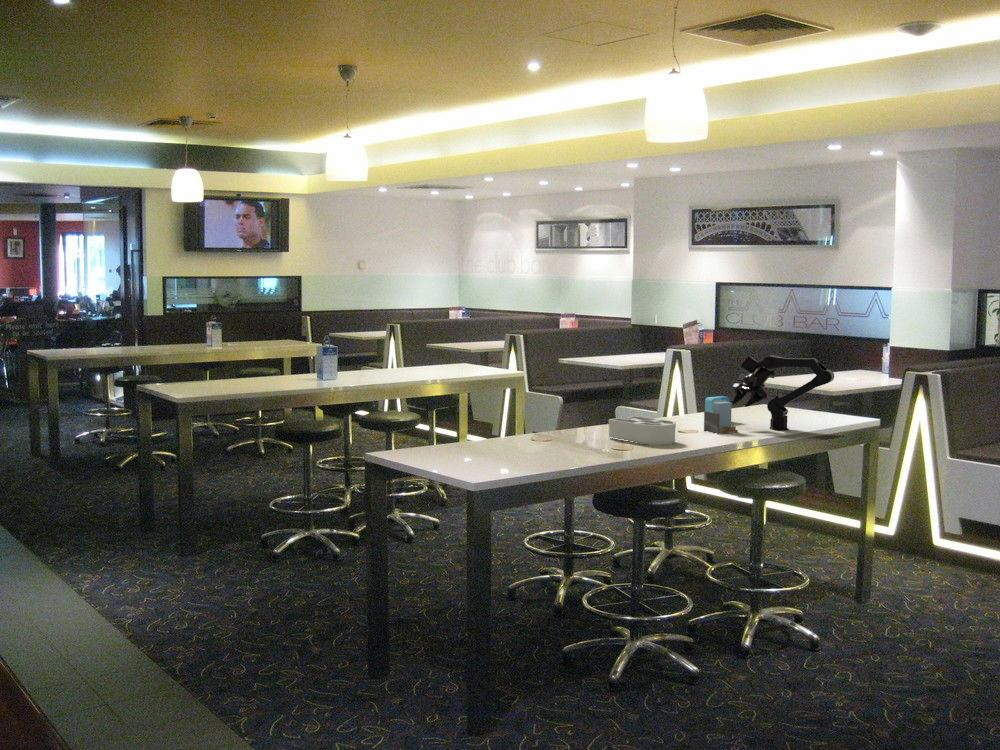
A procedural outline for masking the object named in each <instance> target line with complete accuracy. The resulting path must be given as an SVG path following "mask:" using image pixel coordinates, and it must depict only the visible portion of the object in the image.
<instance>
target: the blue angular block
mask: <svg viewBox="0 0 1000 750" xmlns="http://www.w3.org/2000/svg"><path fill="white" fill-rule="evenodd" d="M732 405H733V404H732V402H730V401H729V402H715V403H713V412H714V413H719V428H720V427H732Z"/></svg>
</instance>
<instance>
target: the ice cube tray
mask: <svg viewBox="0 0 1000 750" xmlns="http://www.w3.org/2000/svg"><path fill="white" fill-rule="evenodd" d="M609 437H613V438H618V439H624V440H628V441H633V442H637V443H640V444H639V445H643V444H649V445H648V446H663V445H662V444H670V445H673V444H672V443H674V444H675V442H676V421H673V420H665V419H661V418H660V419H659V418H653V417H652V418H651V417H646V416H645V417H644V416H638V415H633V416H632V415H631V416H626V417H625V418H620V417H619V418H618V417H617V418H616V417H615V418H610V419H608V438H609ZM637 443H636V444H637Z"/></svg>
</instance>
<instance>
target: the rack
mask: <svg viewBox="0 0 1000 750" xmlns="http://www.w3.org/2000/svg"><path fill="white" fill-rule="evenodd" d="M703 413H704V414H703V432H706V431H708V432H707V433H711V432H713V433H712V434H715V433H717V434H716V435H719V434H718V433H724V434H730V433H729V432H735V433H739V430H738V429H736V426H735V425H734V426H732V425H731V427H720V428H719V413H714V412H709V411H705V410H704V411H703Z"/></svg>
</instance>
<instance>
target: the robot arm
mask: <svg viewBox="0 0 1000 750" xmlns="http://www.w3.org/2000/svg"><path fill="white" fill-rule="evenodd" d="M782 367H786V368H787V367H788V368H789V367H790V368H791V367H793V368H797V367H798V368H799V367H800V368H810V369H811V371H812V372H813V374H815V376H814V377H813V378H812V379H811V380H809V381H808V382H806V383H805V384H803V385H801V386H800V387H798V388H795V389H794V390H792V391H791V392H789V393H787V394H785V395H782V394H781V393H779V394H777V395H776V396H775V397H772V398H771V399H769V401H768V402H767V405H766V406H767V410H768V412H770V415H771V417H770V419H769V420H770V421H769V422H770V423H769V424H770V425H769V429H771V430H774V431H789V430H790V428H788V413H789V410H788V409H787V408H786V407H787V406H788V405H789V404H790V403H791V402H792V401H794V400H797V399H798V398H800V397H802V396H803V395H805V394H806V393H808V392H810V391H813V390H814V389H816V388H818V387H821V386H824V385H826V384H829V383H832V382H833V381H834V380H835V373H834V372H833V370H831V369H828V368H827V367H826V366H825V365H824V364H822V363H821V362H820V361H819V360H818V359H817V358H815V357H811V358H809V357H808V358H807V357H806V358H805V357H804V358H800V357H799V358H798V357H797V358H795V357H782V356H779V355H773V354H771V355H767V356H765V357H764V358H763V360H759V361H758V360H757V359H755V358H753V357H752V356H751V355H748V356H747V357H746V359H744V360H743V362H742V363H741V364H740V369H741V370H744V372H745V373H748V374H745V373H740V374H739V377H738V378H737V381H739V382H741V383H737V382H736V383H733V385H732V389H733V390H734V395H733V399H732V401H731V403H732V405H735V404H737V403H738V402H740V401H741V400H742V399H743V398H744V397H745V396H746V395H747V393H749V394H750V396H749V398H747V401H746V402H745V405H744V406H745V407H746V408H747V407H750V406H751V405H753V404H755V403H757V402H760V401H763V400H766V399H767V398H768V393H767V391H766V390H765V389H764V387H765V383H766V382H767V380H768V379H769V378H772V379H775V378H776V377H775V376H776V374H775V371H774V370H771V369H778V368H782Z"/></svg>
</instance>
